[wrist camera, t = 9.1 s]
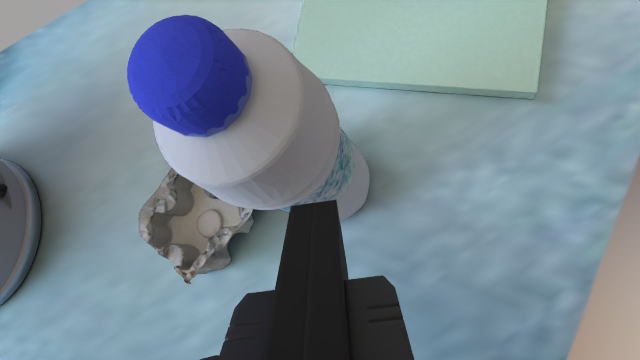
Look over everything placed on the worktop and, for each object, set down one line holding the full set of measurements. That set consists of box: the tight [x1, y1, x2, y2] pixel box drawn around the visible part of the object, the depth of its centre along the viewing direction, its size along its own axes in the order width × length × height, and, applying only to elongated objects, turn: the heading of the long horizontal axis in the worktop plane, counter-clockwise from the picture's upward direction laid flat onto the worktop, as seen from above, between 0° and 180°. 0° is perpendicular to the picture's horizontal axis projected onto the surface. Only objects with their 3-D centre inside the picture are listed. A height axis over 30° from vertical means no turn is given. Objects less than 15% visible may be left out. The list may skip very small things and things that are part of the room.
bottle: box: [127, 15, 370, 222], centre depth 20 cm, size 7×7×20 cm
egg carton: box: [139, 168, 254, 284], centre depth 30 cm, size 11×8×4 cm
